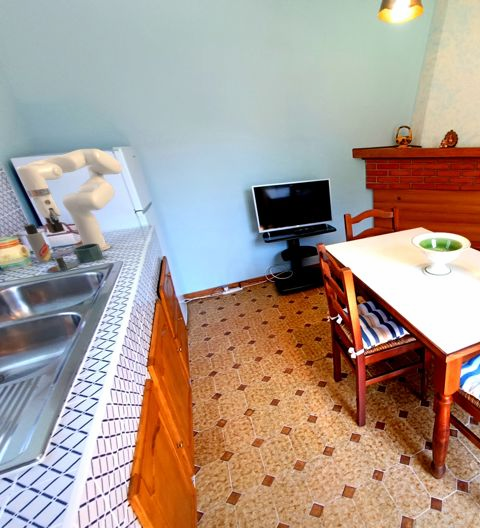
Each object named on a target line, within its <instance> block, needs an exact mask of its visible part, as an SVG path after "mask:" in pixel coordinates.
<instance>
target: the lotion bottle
mask: <svg viewBox="0 0 480 528" xmlns="http://www.w3.org/2000/svg"><path fill="white" fill-rule="evenodd" d="M23 228H24V229H25V230H24V231H25V232H26V235H25V238H26V240H27V242H28V245H29V246H30V248H31V251H32V252H33V254H34V256H35V258H36V260H37V262H38V264H47V263H51V262H53V261H54V260H55V258H54V257H53V255H52V253H51V250H50V248H49V246H48V244H47V242H46V240H45V237H44V235H43V234H42V232H39V231H38V229H37V226H36V225H35V224H34V223H28V224H25V225H24V226H23Z"/></svg>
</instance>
